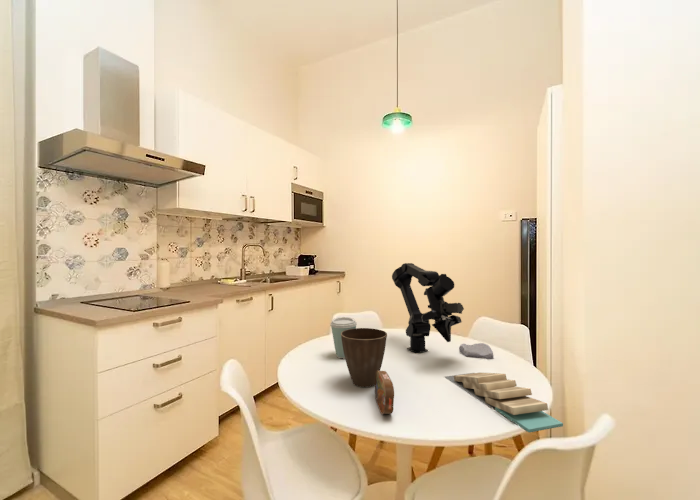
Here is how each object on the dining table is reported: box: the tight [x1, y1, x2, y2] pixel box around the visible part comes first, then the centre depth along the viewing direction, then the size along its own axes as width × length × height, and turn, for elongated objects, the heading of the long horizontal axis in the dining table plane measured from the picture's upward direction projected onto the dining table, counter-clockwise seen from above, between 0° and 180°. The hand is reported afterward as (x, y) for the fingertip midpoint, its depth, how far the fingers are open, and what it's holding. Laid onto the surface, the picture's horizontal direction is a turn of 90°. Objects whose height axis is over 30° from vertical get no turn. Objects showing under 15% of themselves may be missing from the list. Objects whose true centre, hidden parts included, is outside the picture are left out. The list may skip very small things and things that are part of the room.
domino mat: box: [444, 372, 495, 409], centre depth 96 cm, size 22×12×1 cm, turn 16°
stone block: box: [458, 342, 494, 360], centre depth 128 cm, size 12×5×10 cm
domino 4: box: [485, 396, 549, 415], centre depth 83 cm, size 2×10×11 cm
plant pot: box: [341, 327, 388, 388], centre depth 101 cm, size 15×15×16 cm
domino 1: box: [454, 372, 508, 384], centre depth 97 cm, size 2×10×12 cm
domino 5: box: [494, 407, 564, 433], centre depth 79 cm, size 2×10×11 cm
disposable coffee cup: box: [330, 316, 357, 360], centre depth 127 cm, size 11×11×15 cm
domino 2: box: [463, 379, 518, 391], centre depth 93 cm, size 2×10×11 cm
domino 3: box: [474, 386, 533, 399], centre depth 88 cm, size 2×10×11 cm
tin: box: [374, 370, 395, 415], centre depth 86 cm, size 15×3×8 cm, turn 5°
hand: (449, 341), depth 112 cm, fingers closed
